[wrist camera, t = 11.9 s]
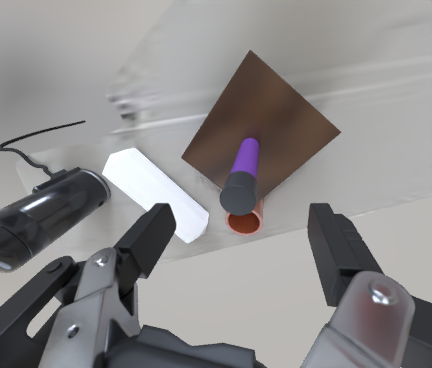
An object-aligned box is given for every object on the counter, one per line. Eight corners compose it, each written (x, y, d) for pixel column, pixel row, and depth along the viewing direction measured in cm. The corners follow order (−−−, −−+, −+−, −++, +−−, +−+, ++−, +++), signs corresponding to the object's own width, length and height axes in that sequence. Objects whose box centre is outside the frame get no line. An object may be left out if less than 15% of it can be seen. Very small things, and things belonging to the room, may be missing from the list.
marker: (235, 148, 21) (212, 201, 12) (249, 132, 20) (234, 178, 11) (251, 160, 21) (239, 221, 12) (265, 145, 20) (264, 201, 11)
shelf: (199, 140, 30) (180, 157, 24) (254, 58, 23) (250, 49, 16) (252, 182, 32) (249, 209, 25) (320, 117, 24) (341, 132, 18)
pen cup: (224, 201, 35) (218, 221, 30) (244, 181, 32) (240, 200, 27) (248, 218, 36) (245, 241, 31) (270, 201, 33) (271, 223, 28)
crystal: (96, 175, 35) (185, 247, 40) (90, 163, 29) (197, 251, 34) (125, 152, 38) (204, 221, 43) (125, 137, 32) (218, 220, 37)
